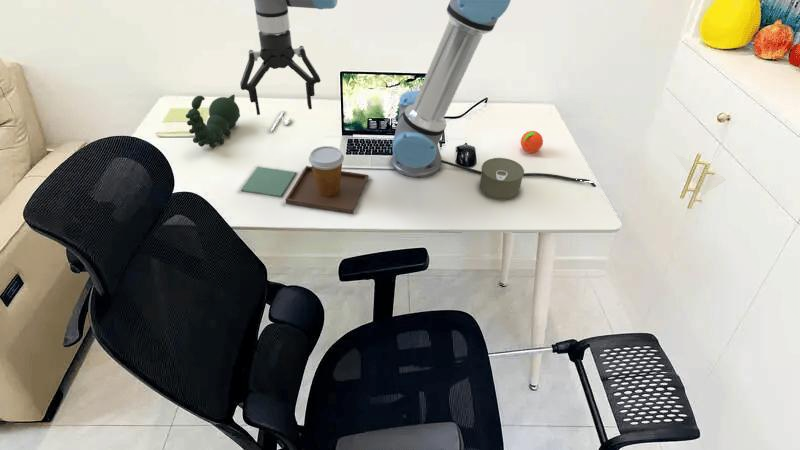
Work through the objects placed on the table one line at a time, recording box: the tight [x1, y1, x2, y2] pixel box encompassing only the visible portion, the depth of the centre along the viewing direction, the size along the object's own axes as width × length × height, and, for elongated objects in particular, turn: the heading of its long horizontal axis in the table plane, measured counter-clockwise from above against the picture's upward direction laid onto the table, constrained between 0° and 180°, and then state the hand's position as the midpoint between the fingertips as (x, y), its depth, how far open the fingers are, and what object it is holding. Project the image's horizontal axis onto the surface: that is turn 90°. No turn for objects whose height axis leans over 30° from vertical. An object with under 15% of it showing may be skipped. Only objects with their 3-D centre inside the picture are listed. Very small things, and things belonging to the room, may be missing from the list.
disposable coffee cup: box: [308, 145, 345, 196], centre depth 150 cm, size 10×10×12 cm
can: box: [479, 157, 525, 201], centre depth 155 cm, size 12×12×7 cm
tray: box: [285, 165, 369, 215], centre depth 154 cm, size 19×17×2 cm
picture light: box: [270, 111, 291, 132], centre depth 183 cm, size 14×4×2 cm, turn 173°
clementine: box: [520, 130, 544, 154], centre depth 172 cm, size 8×7×7 cm
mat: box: [240, 166, 297, 198], centre depth 157 cm, size 12×12×1 cm
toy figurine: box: [185, 94, 241, 149], centre depth 170 cm, size 9×19×25 cm
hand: (284, 109), depth 144 cm, fingers open, 13 cm apart
